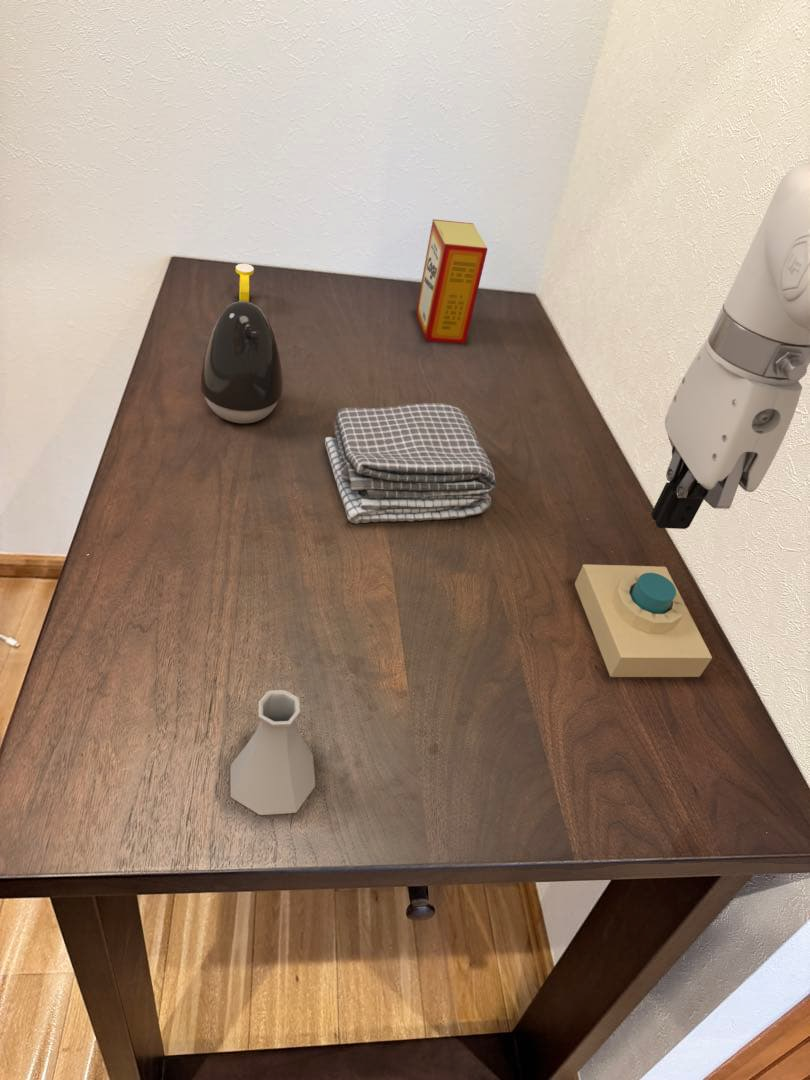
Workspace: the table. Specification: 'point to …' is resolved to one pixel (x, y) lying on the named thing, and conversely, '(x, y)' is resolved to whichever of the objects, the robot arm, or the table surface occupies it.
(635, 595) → the teal disc
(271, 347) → the black egg shape
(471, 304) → the baking soda box
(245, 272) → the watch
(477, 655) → the table surface
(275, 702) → the flask
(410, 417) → the towel
